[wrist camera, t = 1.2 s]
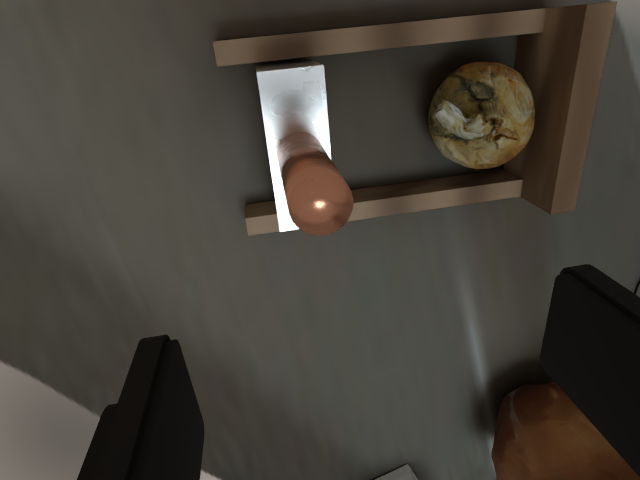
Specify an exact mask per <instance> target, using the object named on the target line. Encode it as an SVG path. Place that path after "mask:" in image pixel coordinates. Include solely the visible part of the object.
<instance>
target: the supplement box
mask: <svg viewBox="0 0 640 480" xmlns="http://www.w3.org/2000/svg"><path fill="white" fill-rule="evenodd" d="M375 480H418V478H417V477H416V475H415V474H414V472H413V471H412V469H411V468H410V466H409V465H408V464H406V465H404V466H402V467H400V468H398V469H396V470H394V471H392V472H390V473H388V474H386V475H383V476H381V477H379V478H377V479H375Z"/></svg>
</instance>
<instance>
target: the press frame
mask: <svg viewBox="0 0 640 480" xmlns="http://www.w3.org/2000/svg"><path fill="white" fill-rule="evenodd" d="M616 4H617V2H607V3H596V4H585V5H574V6H563V7H552V8H541V9H531V10H521V11H511V12H501V13H491V14H481V15H471V16H461V17H451V18H441V19H431V20H421V21H411V22H401V23H391V24H381V25H371V26H361V27H351V28H341V29H331V30H321V31H311V32H301V33H291V34H281V35H271V36H261V37H251V38H241V39H231V40H221V41H213V47H214V52H215V57H216V63H217V67H219V66H228V65H237V64H247V63H256V62H266V61H275V60H285V59H294V58H304V57H313V56H323V55H332V54H342V53H351V52H360V51H370V50H379V49H389V48H398V47H408V46H417V45H427V44H436V43H446V42H455V41H465V40H474V39H483V38H493V37H502V36H512V35H518V43H517V52H516V61H515V70H516V71H517V72H519V73H520V74H521V76H522V78H523V79H524V80H525V82H526V83H527V85H528V86H529V88H530V89H531V92H532V96H533V99H534V106H535V121H534V128H533V132H532V135H531V137H530V139H529V141H528V143H527V145H526V146H525V147H524V148H523V150H521V151H520V152H519V153H518V154H517V155H516V156H515V157H514V158H512V159H511V160H509V161H508V162H506V163H504V167H503V169H502V170H494V171H487V172H480V173H472V174H465V175H458V176H451V177H443V178H436V179H429V180H421V181H414V182H407V183H399V184H392V185H385V186H378V187H370V188H363V189H356V190H351V192H352V195H353V210H352V213H351V216H350V218H349V219H348V221H354V220H360V219H367V218H374V217H381V216H388V215H395V214H402V213H409V212H416V211H423V210H430V209H437V208H444V207H451V206H458V205H465V204H471V203H478V202H485V201H492V200H499V199H506V198H513V197H522V198H524V199H526V200H527V201H529V202H531V203H532V204H534V205H536V206H537V207H539V208H541V209H542V210H544V211H546V212H547V213H549V214H557V213H563V212H570V211H575V208H576V203H577V198H578V193H579V188H580V183H581V178H582V173H583V168H584V163H585V158H586V153H587V148H588V143H589V138H590V133H591V128H592V124H593V119H594V114H595V109H596V104H597V99H598V94H599V89H600V84H601V79H602V74H603V69H604V64H605V59H606V54H607V49H608V44H609V39H610V34H611V29H612V24H613V19H614V14H615V9H616ZM245 220H246V225H247V231H248V236H249V235H256V234H263V233H270V232H277V231H280V229H279V223H278V216H277V209H276V203H275V201H268V202H261V203H254V204H246V210H245Z"/></svg>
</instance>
